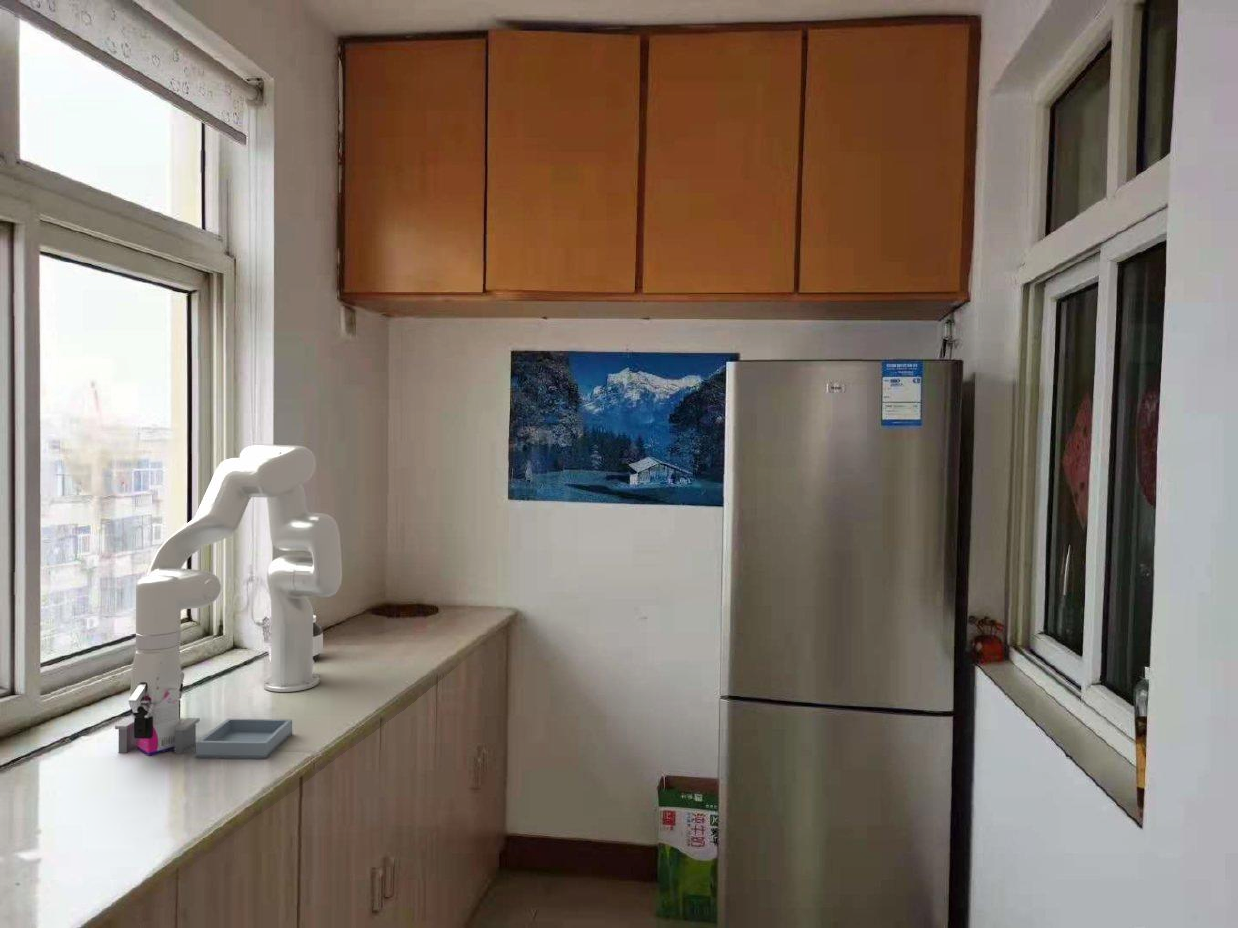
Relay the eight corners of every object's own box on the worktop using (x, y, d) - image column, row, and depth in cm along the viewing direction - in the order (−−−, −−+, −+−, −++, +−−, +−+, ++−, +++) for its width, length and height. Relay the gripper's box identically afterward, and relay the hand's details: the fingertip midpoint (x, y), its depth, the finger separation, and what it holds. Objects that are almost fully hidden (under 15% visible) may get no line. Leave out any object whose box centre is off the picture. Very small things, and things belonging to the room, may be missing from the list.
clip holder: (130, 742, 159) (130, 716, 158) (199, 743, 159) (199, 717, 159) (114, 752, 154) (114, 725, 153) (186, 753, 154) (186, 727, 154)
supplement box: (167, 740, 160) (167, 682, 160) (180, 748, 157) (180, 689, 156) (135, 748, 156) (135, 689, 156) (147, 756, 152) (148, 696, 152)
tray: (227, 732, 165) (228, 718, 165) (292, 733, 165) (292, 719, 165) (195, 757, 152) (195, 742, 152) (265, 758, 152) (265, 743, 152)
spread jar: (326, 656, 223) (327, 614, 223) (306, 668, 212) (307, 623, 212) (285, 654, 224) (285, 612, 224) (263, 665, 213) (263, 621, 213)
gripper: (163, 629, 164) (162, 713, 165) (111, 651, 147) (110, 745, 147) (200, 630, 164) (199, 713, 165) (153, 652, 147) (152, 745, 148)
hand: (157, 728), depth 156 cm, fingers open, 9 cm apart
